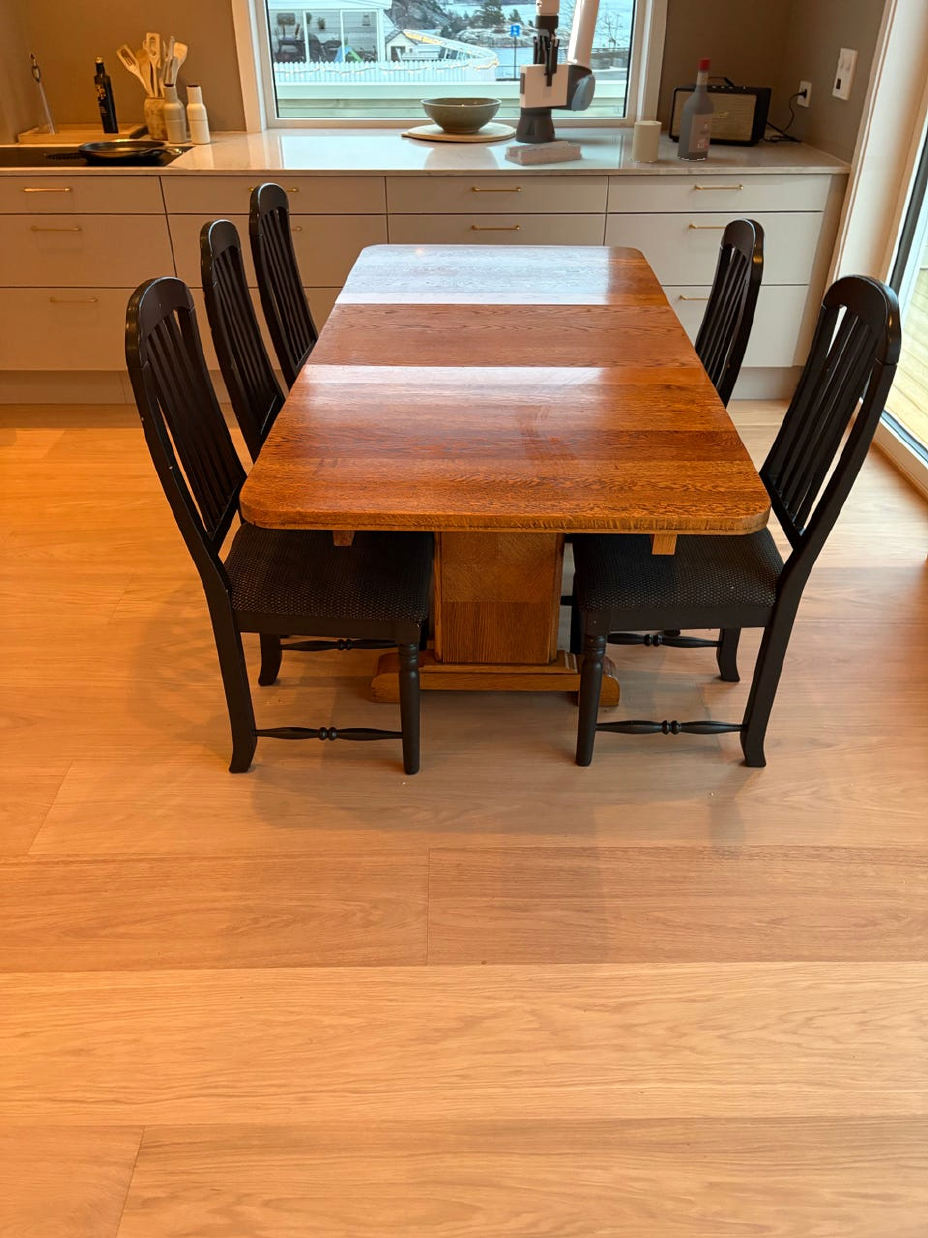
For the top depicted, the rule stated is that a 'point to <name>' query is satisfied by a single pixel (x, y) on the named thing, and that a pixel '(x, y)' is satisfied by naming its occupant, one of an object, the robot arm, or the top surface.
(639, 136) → the can
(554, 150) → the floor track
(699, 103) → the liquor
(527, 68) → the door panel
